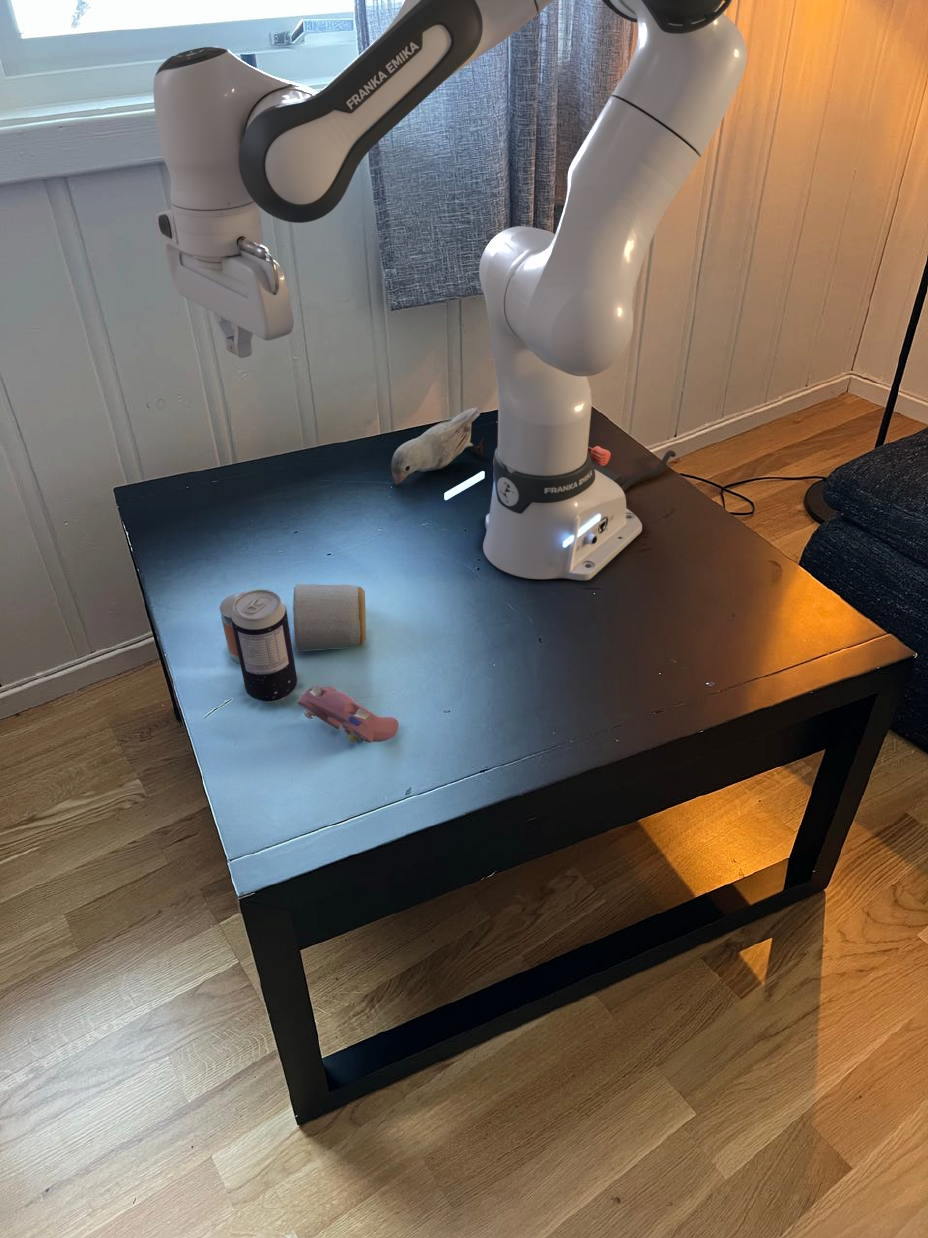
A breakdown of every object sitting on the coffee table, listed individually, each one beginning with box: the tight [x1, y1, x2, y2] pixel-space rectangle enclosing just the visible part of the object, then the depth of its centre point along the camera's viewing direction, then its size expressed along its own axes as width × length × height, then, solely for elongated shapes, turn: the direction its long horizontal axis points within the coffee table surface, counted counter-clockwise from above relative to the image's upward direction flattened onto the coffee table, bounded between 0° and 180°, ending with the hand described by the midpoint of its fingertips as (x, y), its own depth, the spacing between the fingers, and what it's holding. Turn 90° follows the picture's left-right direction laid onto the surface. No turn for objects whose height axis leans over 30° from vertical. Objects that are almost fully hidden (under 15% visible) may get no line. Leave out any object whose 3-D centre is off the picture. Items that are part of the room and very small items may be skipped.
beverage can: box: [231, 589, 298, 704], centre depth 99 cm, size 6×6×12 cm
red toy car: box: [297, 685, 400, 744], centre depth 96 cm, size 10×5×7 cm, turn 56°
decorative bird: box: [390, 406, 484, 486], centre depth 138 cm, size 5×16×8 cm, turn 130°
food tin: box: [219, 592, 245, 666], centre depth 105 cm, size 5×5×7 cm
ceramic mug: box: [292, 583, 367, 652], centre depth 108 cm, size 11×8×8 cm
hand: (239, 353), depth 107 cm, fingers closed
